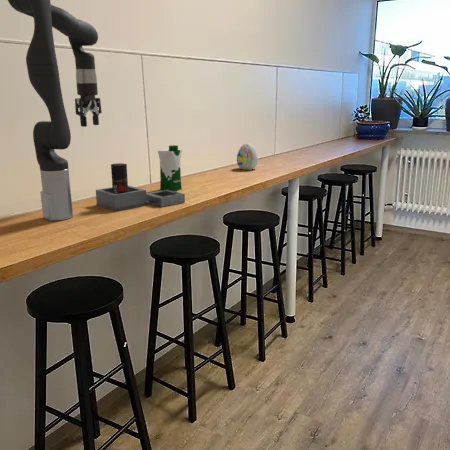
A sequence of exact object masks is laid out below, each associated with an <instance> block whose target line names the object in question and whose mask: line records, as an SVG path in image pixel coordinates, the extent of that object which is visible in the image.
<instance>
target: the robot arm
mask: <svg viewBox="0 0 450 450" xmlns="http://www.w3.org/2000/svg"><path fill="white" fill-rule="evenodd" d="M7 1H8V3H9V5H10V6H11V8H13V9H14V10H15V11H17V12H19V13H20V14H23V15H27V16H29V17H31V18H33V25H34V28H33V34H32V37H31V40H30V43H29V46H28V49H27V52H26V56H25V63H26V64H25V65H26V68H27V74H28V79H29V81H30V84H31V86H32V88H33V89H34V90H35V92H36V93H37V95H38V96H39V97H40V99H41V100H42V101H43V103H44V104H45V106H46V108H47V111H48V113H49V118H50V120H49V121H48V120H46V121H45V120H42V121H38V122H36V123H35V125H34V127H33V129H32V130H33V132H32V135H33V136H32V139H33V145H34V150H35V156H36V161H37V165H38V166H39V170H40V171H39V172H40V180H41V189H42V190H41V191H40V199H41V200H40V201H41V209H42V216H43V217H42V218H43V219H45V220H47V221H50V222H51V221H53V222H54V221H62V220H63V221H64V220H68V219H71V218H73V217H74V212H73V210H74V209H73V203H72V191H71V181H70V171H69V162H68V160H67V159H65V158H64V157H61V156H59V155H58V154H57V152H56V151H55V150H66V149H68V148H69V146H70V144H71V139H72V136H71V134H72V133H71V130H70V125H69V124H70V123H69V120H68V117H67V112H66V108H65V103H64V99H63V93H62V92H63V91H62V87H61V80H60V79H61V78H60V73H59V65H58V59H57V53H56V50H55V49H56V48H55V41H54V33H53V29H55V30H56V31H58V32H59V33H61V34H63V35H64V36H66V37H67V38H68V39H67V40H68V42H69V44H70V48H71V50H72V53H73V55H74V60H75V61H74V62H75V82H76V92H77V96H79V98H78V97H77V98H75V99H74V107H75V108H74V110H75V115H76V116H78V117H79V121H80V126H81V127H83V128H84V127H85V128H87V126H88V122H87V114H88V112H89V111H90V112H91V114H92V124H93V126H99V124H100V120H99V115H100V114H102V104H101V98H100V97H96V96H98V93H99V91H98V90H99V89H98V80H97V79H98V78H97V73H96V64H95V61H96V60H95V56H94V54H93V53H91V52H87V51H85V50H84V48H83V47H86V46H87V47H91V46H92V47H93V46H94V45H96V44H97V42H98V39H99V34H98V31H97V30H96V28H95V27H94V26H93V25H92V24H90V23H88V22H86V21H83V20H81V19H79V18H76V17H75V16H73V14H71V13H70V12H69V11H67V10H65V9H63V8H61V7H59V6H55V5H53V4H51V0H7Z"/></svg>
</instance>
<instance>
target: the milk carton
mask: <svg viewBox="0 0 450 450" xmlns="http://www.w3.org/2000/svg"><path fill="white" fill-rule="evenodd" d="M182 151H183V150H182V149H179V146H178V145H172V144H171V145H168V148H166V149H160V150H157V155H158V157H159V171H160V173H159V174H160V177H159V178H160V179H159V180H160V183H159V184H160V185H159V186H160V187H159V191H162V190H171V191H175V192H178V191H179V190H182V189H183V188H182V175H181V173H182V172H181V158H182Z"/></svg>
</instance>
